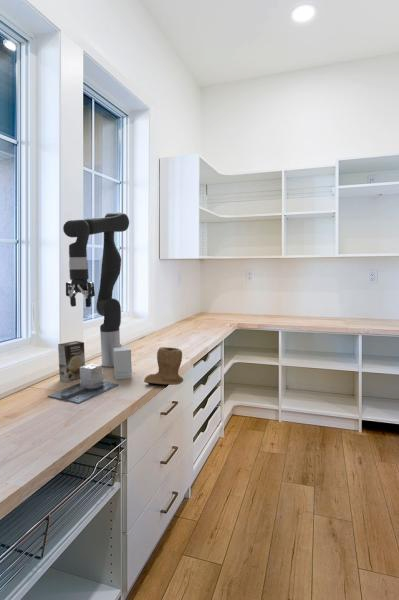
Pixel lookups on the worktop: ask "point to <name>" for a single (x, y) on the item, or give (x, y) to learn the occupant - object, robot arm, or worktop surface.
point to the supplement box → (122, 363)
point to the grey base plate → (82, 392)
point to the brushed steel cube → (91, 374)
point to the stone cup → (167, 367)
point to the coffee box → (71, 360)
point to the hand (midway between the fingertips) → (80, 306)
